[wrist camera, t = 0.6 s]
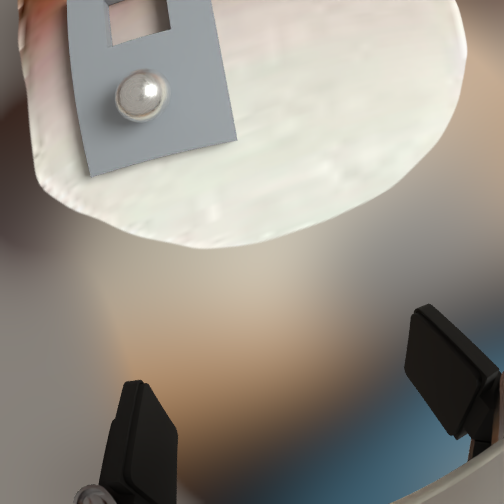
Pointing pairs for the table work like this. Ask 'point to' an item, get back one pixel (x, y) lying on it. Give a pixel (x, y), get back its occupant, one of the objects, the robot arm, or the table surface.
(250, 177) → the table surface
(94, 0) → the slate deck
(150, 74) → the steel ball
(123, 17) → the table surface
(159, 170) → the table surface
